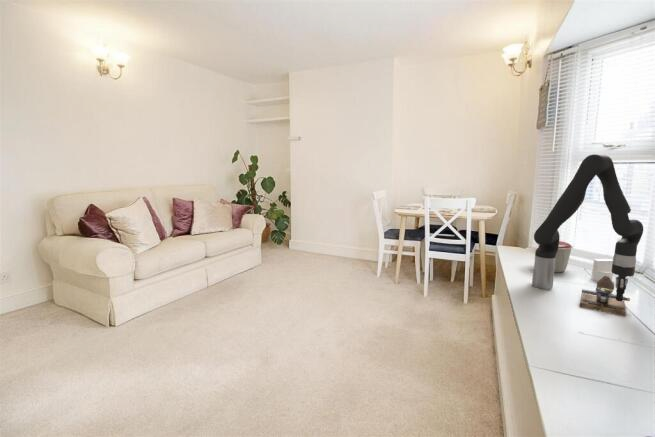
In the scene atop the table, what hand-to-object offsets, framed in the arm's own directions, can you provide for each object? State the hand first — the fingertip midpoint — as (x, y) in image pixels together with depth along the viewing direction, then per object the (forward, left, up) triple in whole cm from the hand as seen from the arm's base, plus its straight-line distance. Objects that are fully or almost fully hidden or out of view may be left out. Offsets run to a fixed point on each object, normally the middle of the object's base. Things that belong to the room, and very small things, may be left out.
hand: (618, 300), depth 145 cm
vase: (-5, +22, -5) cm, 23 cm away
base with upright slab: (-6, +45, -5) cm, 45 cm away
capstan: (-6, +2, -3) cm, 7 cm away
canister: (-30, +49, -5) cm, 58 cm away
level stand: (-6, +2, -5) cm, 8 cm away
